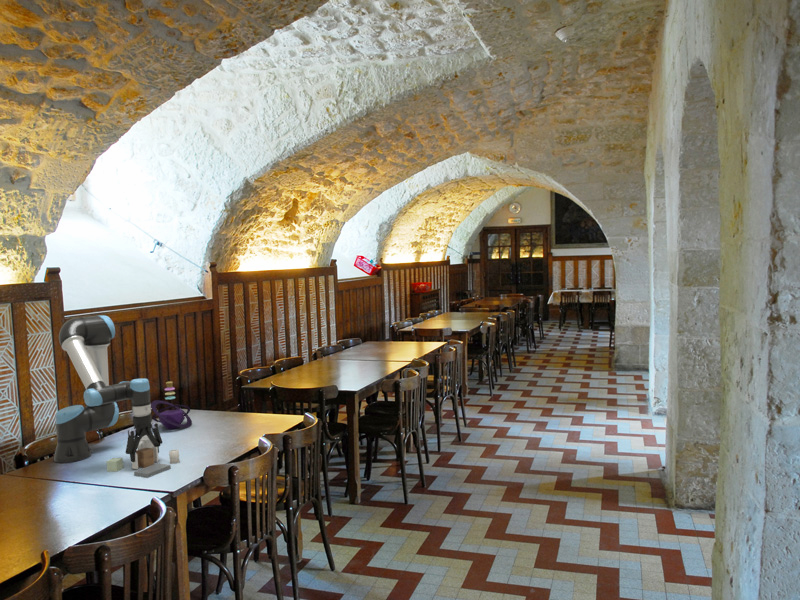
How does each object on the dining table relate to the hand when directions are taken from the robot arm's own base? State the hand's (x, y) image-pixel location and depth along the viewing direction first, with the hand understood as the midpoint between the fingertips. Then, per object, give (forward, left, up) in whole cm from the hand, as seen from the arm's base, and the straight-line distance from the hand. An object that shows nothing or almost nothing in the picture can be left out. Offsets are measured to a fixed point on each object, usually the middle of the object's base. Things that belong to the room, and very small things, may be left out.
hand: (145, 464), depth 269 cm
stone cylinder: (+9, +8, 0) cm, 12 cm away
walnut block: (0, 0, 0) cm, 0 cm away
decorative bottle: (-40, +50, 0) cm, 64 cm away
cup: (-13, +11, 0) cm, 17 cm away
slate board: (+10, -5, 0) cm, 11 cm away
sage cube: (-8, -9, 0) cm, 12 cm away
